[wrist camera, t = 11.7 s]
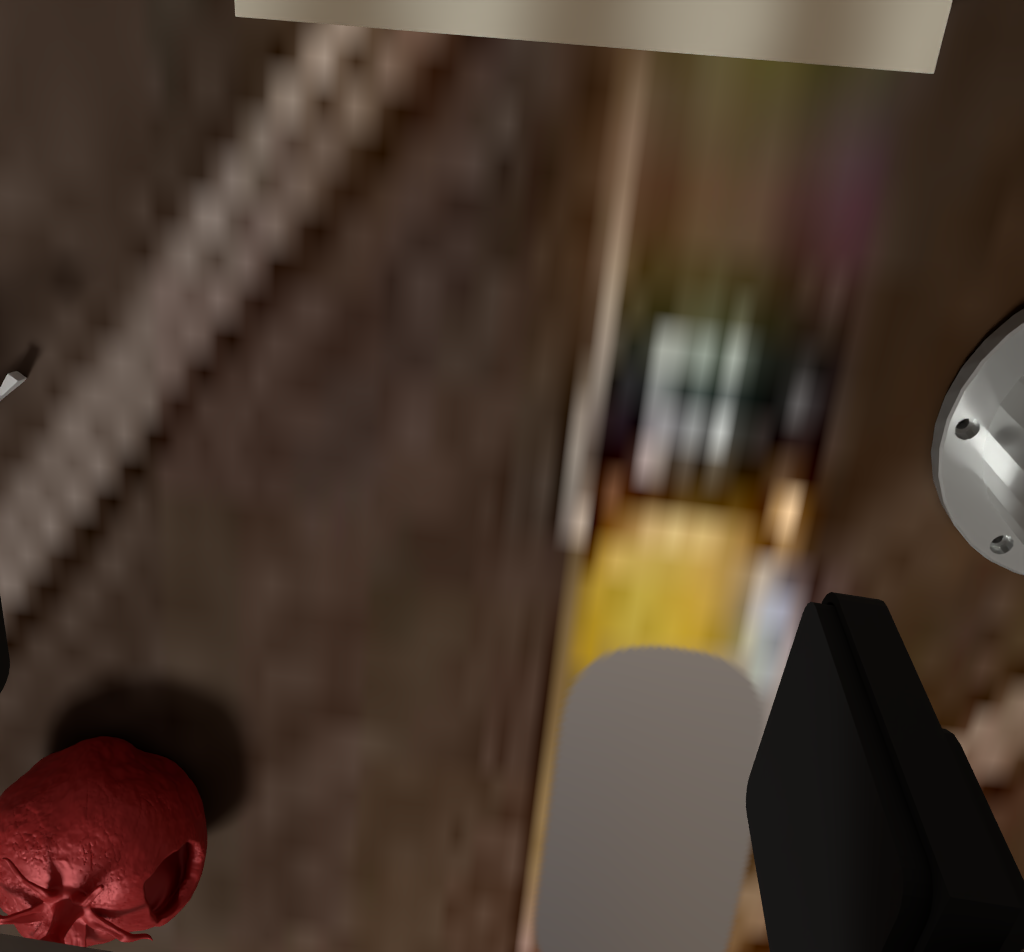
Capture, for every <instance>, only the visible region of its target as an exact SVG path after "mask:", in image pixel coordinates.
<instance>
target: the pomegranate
mask: <svg viewBox="0 0 1024 952" xmlns="http://www.w3.org/2000/svg"><path fill="white" fill-rule="evenodd" d="M206 850H207V827H206V818H205V813H204V807H203V802H202V799H201V797H200V794H199V792H198V790H197V788H196V786H195V784H194V783H193V782H192V780H191V779H190V778H189V777H188V776H187V774H186V773H185V772H184V770H183V769H182V768H181V767H179V766H178V765H177V764H176V763H175V762H174V761H172V760H171V759H168V758H166V757H163V756H160V755H157V754H152V753H148V752H144V751H142V750H139V749H137V748H135V747H134V746H133V745H132V744H131V743H129V742H127V741H126V740H123V739H120V738H117V737H109V736H98V737H94V738H91V739H86V740H83V741H81V742H79V743H77V744H76V745H73V746H70V747H68V748H66V749H64V750H61V751H59V752H56V753H52V754H50V755H49V756H46V757H44V758H43V759H41V760H40V761H39V762H38V763H36V764H35V765H34V766H33V767H32V768H31V769H30V770H29V771H28V772H27V773H26V774H25V775H23V776H22V777H20V778H19V779H18V780H17V781H16V782H15V783H13V784H12V785H11V786H9V787H8V788H7V789H6V790H5V791H4V792H3V794H2V795H1V796H0V907H1V908H2V910H3V911H4V912H5V913H7V914H8V916H2V915H0V924H14V925H15V927H16V928H17V930H18V932H19V933H20V934H21V935H22V936H23V937H25V938H31V939H37V940H43V941H49V942H56V943H62V944H68V945H74V946H80V947H88V946H92V945H95V944H102V943H107V942H110V941H112V940H114V939H115V938H116V939H118V940H119V941H122V942H133V941H136V940H139V939H150V940H152V938H151V936H150V935H148V934H131V933H129V932H133V931H141V930H146V929H149V928H152V927H154V926H162V925H164V924H166V923H168V922H169V921H170V920H171V919H172V918H173V917H175V916H176V915H177V914H178V912H180V910H181V909H182V908H183V907H184V906H185V905H186V904H187V902H188V901H189V900H190V899H191V897H192V895H193V893H194V891H195V889H196V887H197V885H198V882H199V880H200V877H201V875H202V871H203V867H204V862H205V856H206ZM152 941H153V940H152Z"/></svg>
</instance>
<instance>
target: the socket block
mask: <svg viewBox="0 0 1024 952" xmlns="http://www.w3.org/2000/svg"><path fill="white" fill-rule="evenodd" d="M951 4H952V0H235V16H236V17H248V18H261V19H273V20H285V21H297V22H309V23H321V24H334V25H346V26H358V27H370V28H382V29H394V30H407V31H419V32H431V33H443V34H455V35H468V36H480V37H492V38H504V39H516V40H528V41H541V42H553V43H565V44H577V45H589V46H601V47H614V48H626V49H638V50H650V51H662V52H675V53H687V54H699V55H711V56H723V57H735V58H748V59H760V60H772V61H784V62H796V63H808V64H821V65H833V66H845V67H857V68H869V69H881V70H894V71H906V72H918V73H930V74H934V70H935V66H936V62H937V59H938V55H939V51H940V47H941V43H942V39H943V35H944V31H945V28H946V24H947V20H948V16H949V12H950V8H951Z"/></svg>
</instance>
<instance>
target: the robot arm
mask: <svg viewBox="0 0 1024 952" xmlns="http://www.w3.org/2000/svg"><path fill="white" fill-rule="evenodd" d="M963 419H964V420H963ZM962 420H963V422H961V423H960V424H958V422H960V421H962ZM931 458H932V471H933V480H934V484H935V487H936V490H937V493H938V496H939V499H940V502H941V504H942V506H943V508H944V509H945V511H946V513H947V514H948V516H949V517H950V519H951V521H952V522H953V524H954V526H955V527H956V528H957V529H958V531H959V532H960V533H961V534H962V535H963V537H964V538H965V539H966V540H967V542H968V543H969V544H970V545H971V546H972V547H973V548H974V549H976V550H977V551H978V552H979V553H980V554H982V555H983V556H984V557H985V558H987V559H988V560H990V561H992V562H994V563H996V564H998V565H1000V566H1002V567H1004V568H1006V569H1008V570H1010V571H1012V572H1015V573H1018V574H1021V575H1024V309H1022V310H1021V311H1019V312H1018V313H1016V314H1014V315H1013V316H1012V317H1011V318H1009V319H1008V320H1007V321H1006V322H1005V323H1004V324H1002V325H1001V326H1000V327H999V328H998V329H997V330H996V331H994V332H993V333H992V334H991V335H990V336H989V337H988V338H986V339H985V340H984V342H983V343H982V344H981V345H980V346H979V347H978V349H977V350H976V351H975V352H974V353H973V355H972V356H971V357H970V358H969V359H968V361H967V362H966V363H965V364H964V365H963V367H962V368H961V370H960V372H959V373H958V375H957V377H956V378H955V380H954V382H953V384H952V385H951V387H950V389H949V390H948V392H947V394H946V396H945V398H944V401H943V404H942V407H941V410H940V412H939V415H938V418H937V421H936V423H935V429H934V436H933V443H932V449H931ZM9 668H10V659H9V652H8V645H7V639H6V632H5V625H4V618H3V611H2V604H1V598H0V692H1V691H2V689H3V687H4V685H5V683H6V681H7V677H8V674H9ZM746 811H747V818H748V824H749V830H750V836H751V841H752V847H753V853H754V859H755V865H756V871H757V877H758V883H759V889H760V894H761V900H762V906H763V912H764V918H765V924H766V930H767V936H768V942H769V947H770V952H1024V880H1023V878H1022V876H1021V874H1020V871H1019V869H1018V867H1017V865H1016V863H1015V861H1014V859H1013V856H1012V854H1011V852H1010V850H1009V848H1008V846H1007V843H1006V841H1005V839H1004V837H1003V835H1002V833H1001V831H1000V828H999V826H998V824H997V822H996V820H995V818H994V815H993V813H992V811H991V809H990V807H989V805H988V803H987V800H986V798H985V796H984V794H983V792H982V790H981V787H980V785H979V783H978V781H977V779H976V777H975V775H974V772H973V770H972V768H971V766H970V764H969V762H968V760H967V757H966V755H965V753H964V751H963V749H962V747H961V745H960V743H959V742H958V740H957V739H956V737H955V735H954V734H953V733H951V732H949V731H948V730H946V729H942V728H941V725H940V723H939V721H938V719H937V717H936V714H935V712H934V710H933V708H932V705H931V703H930V701H929V699H928V697H927V694H926V692H925V690H924V688H923V685H922V683H921V681H920V679H919V677H918V674H917V672H916V670H915V668H914V665H913V663H912V661H911V659H910V657H909V654H908V652H907V650H906V648H905V645H904V643H903V641H902V639H901V637H900V634H899V632H898V630H897V628H896V625H895V623H894V621H893V619H892V616H891V614H890V612H889V610H888V608H887V606H886V604H885V603H884V601H882V600H879V599H872V598H866V597H859V596H853V595H846V594H840V593H833V592H831V593H829V594H827V595H826V597H825V598H824V599H823V601H822V604H820V603H814V602H810V603H808V604H807V606H806V607H805V609H804V612H803V614H802V617H801V621H800V624H799V627H798V630H797V633H796V636H795V639H794V642H793V645H792V648H791V651H790V654H789V657H788V660H787V663H786V666H785V669H784V672H783V676H782V679H781V682H780V685H779V688H778V691H777V694H776V697H775V700H774V703H773V706H772V709H771V712H770V715H769V718H768V721H767V724H766V727H765V730H764V734H763V737H762V740H761V743H760V746H759V749H758V752H757V755H756V758H755V761H754V764H753V767H752V770H751V773H750V776H749V780H748V785H747V793H746ZM0 952H111V951H105V950H99V949H93V948H86V947H80V946H74V945H68V944H62V943H56V942H49V941H43V940H37V939H31V938H25V937H19V936H12V935H6V934H0Z"/></svg>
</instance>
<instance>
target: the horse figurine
mask: <svg viewBox="0 0 1024 952" xmlns="http://www.w3.org/2000/svg"><path fill="white" fill-rule="evenodd" d="M26 379H27V378H26V377H25V376H24V375H22V374H21V373H19V372H18V371H15V372H11V373H8V374H7V376H6V378H5V379H4V381H3V383H2V385H1V387H0V401H1V400H2V399H3V398H4V397H5V396H7V395H8V394H9V393H10V392H12V391H13V390H14V389H15V388H17V387H18V386H19V385H20V384H21V383H23V382H24V381H25V380H26Z"/></svg>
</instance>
